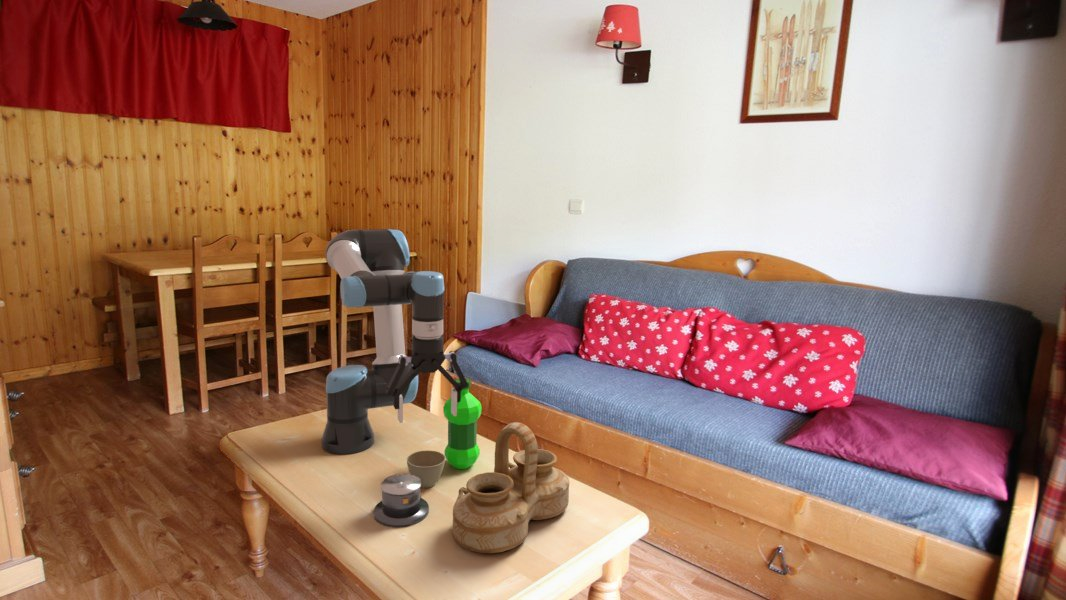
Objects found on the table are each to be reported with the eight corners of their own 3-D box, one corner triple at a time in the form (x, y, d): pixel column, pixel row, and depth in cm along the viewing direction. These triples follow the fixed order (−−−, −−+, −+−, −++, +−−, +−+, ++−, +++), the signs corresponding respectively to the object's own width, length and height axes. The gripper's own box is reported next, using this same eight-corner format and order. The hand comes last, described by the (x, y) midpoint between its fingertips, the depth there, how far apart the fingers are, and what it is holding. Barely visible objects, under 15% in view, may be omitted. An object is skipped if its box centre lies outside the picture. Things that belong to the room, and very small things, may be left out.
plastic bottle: (467, 476, 167) (468, 389, 162) (436, 467, 172) (436, 382, 167) (487, 462, 176) (488, 379, 171) (456, 454, 181) (457, 372, 176)
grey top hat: (369, 503, 152) (369, 475, 150) (421, 494, 157) (421, 467, 155) (378, 531, 140) (378, 501, 139) (434, 520, 145) (434, 491, 144)
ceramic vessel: (522, 481, 166) (525, 393, 161) (581, 503, 156) (586, 410, 151) (434, 538, 139) (434, 434, 134) (498, 569, 128) (500, 458, 123)
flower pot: (437, 495, 157) (437, 469, 156) (400, 490, 159) (400, 464, 158) (450, 477, 167) (450, 452, 165) (415, 472, 168) (415, 448, 167)
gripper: (378, 343, 141) (379, 429, 145) (481, 335, 151) (479, 416, 155) (373, 334, 148) (374, 417, 152) (472, 328, 157) (470, 406, 162)
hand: (427, 417), depth 154 cm, fingers open, 13 cm apart
